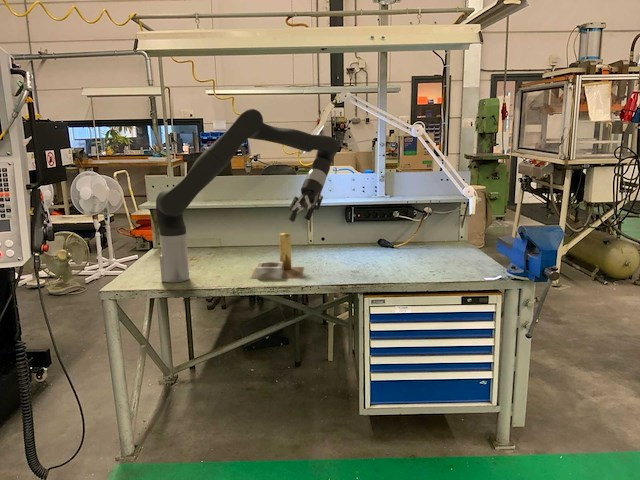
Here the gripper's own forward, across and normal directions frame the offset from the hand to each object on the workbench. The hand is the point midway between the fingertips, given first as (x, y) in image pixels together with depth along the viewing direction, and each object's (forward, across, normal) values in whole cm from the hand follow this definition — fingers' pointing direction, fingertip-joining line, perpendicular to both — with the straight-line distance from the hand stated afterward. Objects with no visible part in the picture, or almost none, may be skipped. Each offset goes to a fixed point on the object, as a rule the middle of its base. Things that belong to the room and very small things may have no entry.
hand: (298, 219), depth 175 cm
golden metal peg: (+14, -13, +12) cm, 22 cm away
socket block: (+18, -11, +9) cm, 23 cm away
